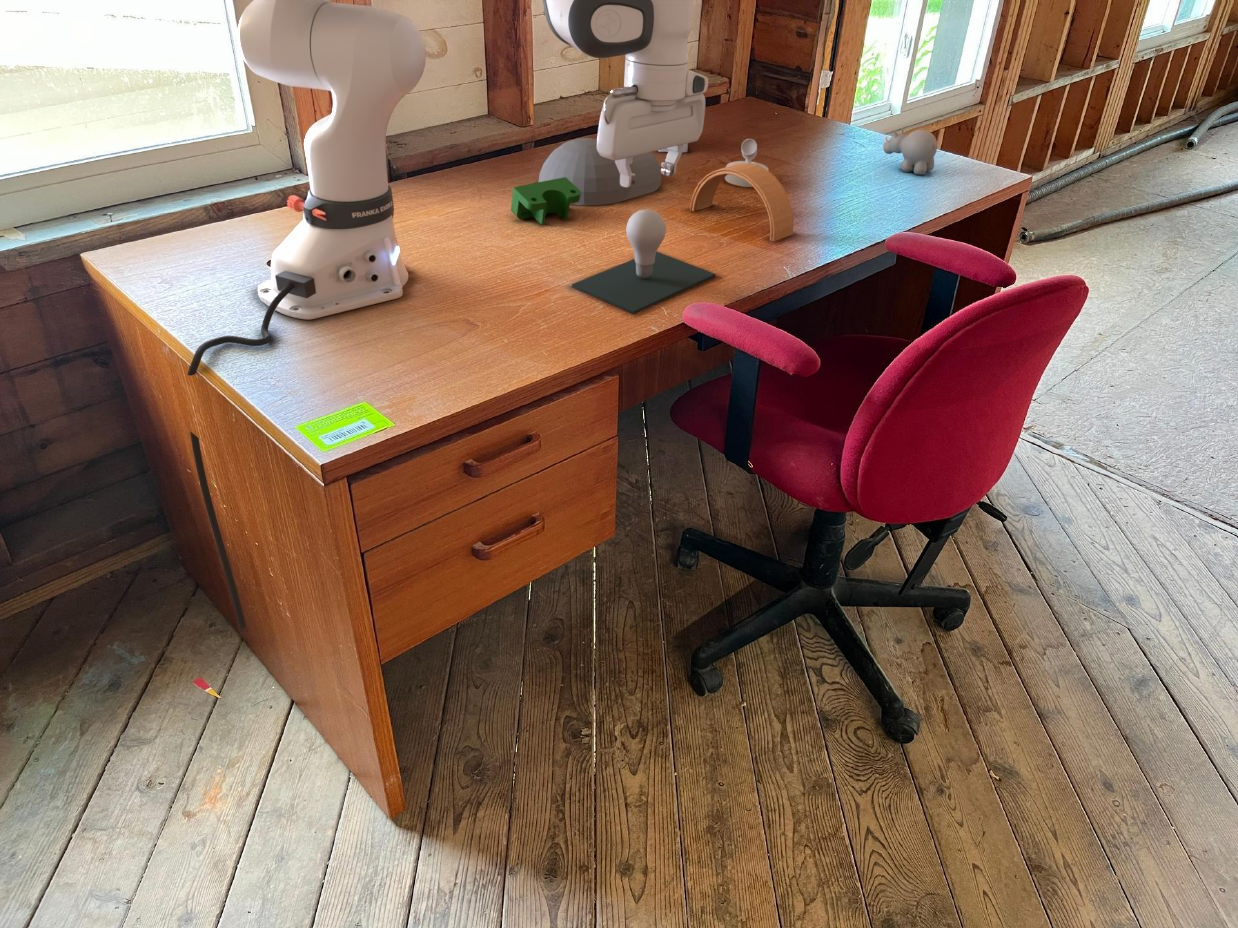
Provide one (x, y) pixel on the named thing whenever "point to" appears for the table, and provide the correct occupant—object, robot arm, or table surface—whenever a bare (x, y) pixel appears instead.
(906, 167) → the chubby cartoon animal
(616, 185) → the baseball cap
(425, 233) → the table surface
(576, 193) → the clamp
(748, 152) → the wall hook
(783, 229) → the arch
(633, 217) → the lightbulb
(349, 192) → the robot arm
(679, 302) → the table surface
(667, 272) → the dark mat
